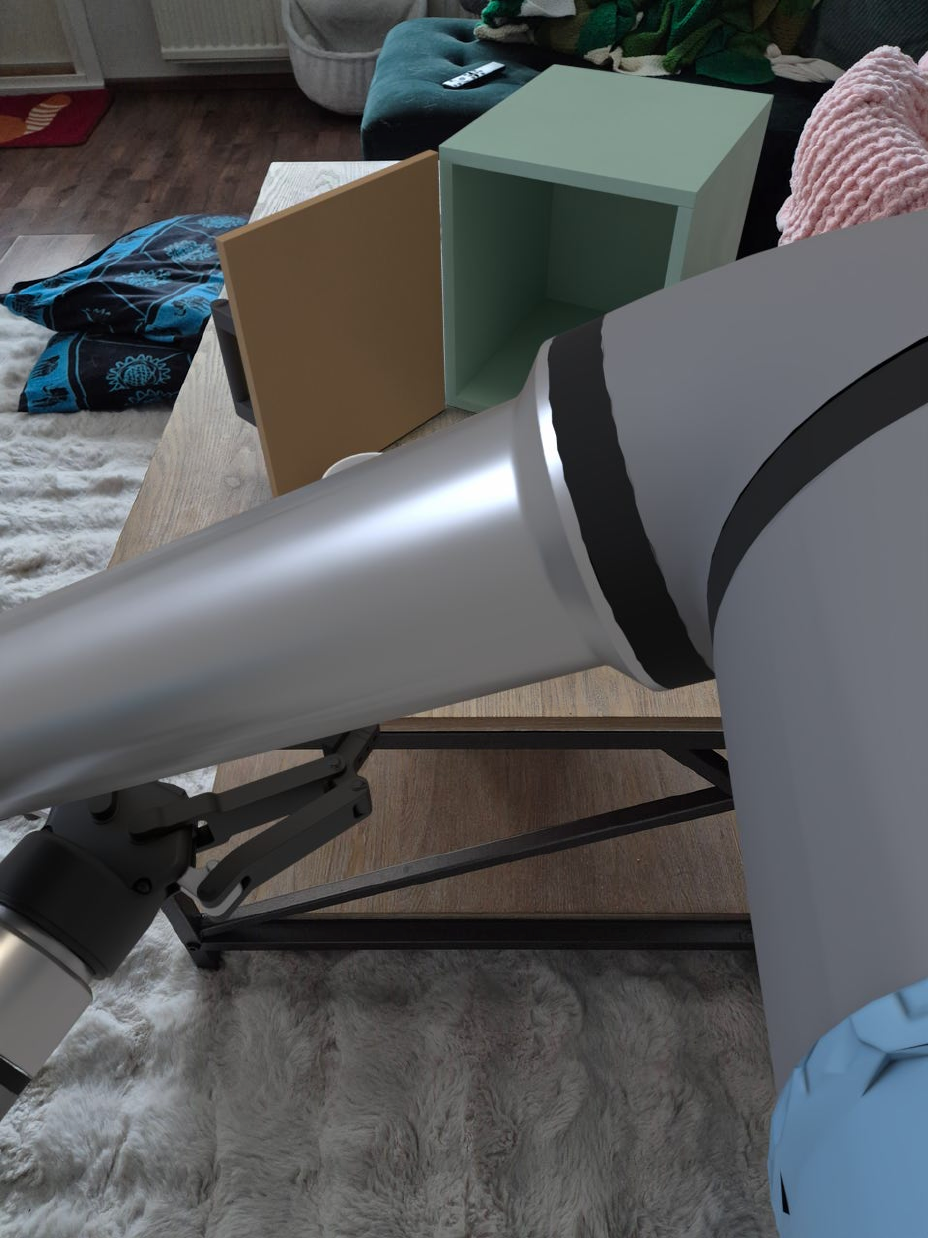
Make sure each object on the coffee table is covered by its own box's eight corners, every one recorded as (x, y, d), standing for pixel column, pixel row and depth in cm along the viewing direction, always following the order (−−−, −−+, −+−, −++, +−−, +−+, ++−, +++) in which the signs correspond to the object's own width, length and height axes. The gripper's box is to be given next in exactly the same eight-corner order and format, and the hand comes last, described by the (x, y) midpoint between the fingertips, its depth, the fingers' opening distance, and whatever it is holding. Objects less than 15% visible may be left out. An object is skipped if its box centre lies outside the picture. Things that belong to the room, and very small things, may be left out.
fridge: (646, 461, 80) (697, 191, 62) (445, 404, 87) (438, 145, 69) (716, 342, 95) (774, 94, 76) (539, 300, 101) (553, 63, 83)
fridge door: (237, 483, 78) (168, 215, 60) (401, 385, 89) (383, 133, 71) (282, 513, 75) (223, 241, 58) (445, 408, 86) (438, 151, 68)
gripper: (-106, 867, 47) (153, 611, 59) (269, 1096, 39) (474, 747, 52) (-185, 796, 41) (120, 531, 54) (235, 1047, 33) (475, 669, 46)
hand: (294, 636), depth 53 cm, fingers open, 13 cm apart
